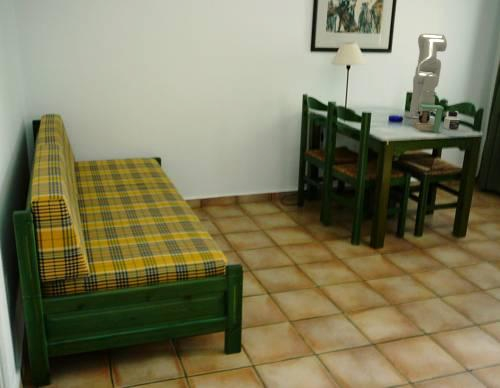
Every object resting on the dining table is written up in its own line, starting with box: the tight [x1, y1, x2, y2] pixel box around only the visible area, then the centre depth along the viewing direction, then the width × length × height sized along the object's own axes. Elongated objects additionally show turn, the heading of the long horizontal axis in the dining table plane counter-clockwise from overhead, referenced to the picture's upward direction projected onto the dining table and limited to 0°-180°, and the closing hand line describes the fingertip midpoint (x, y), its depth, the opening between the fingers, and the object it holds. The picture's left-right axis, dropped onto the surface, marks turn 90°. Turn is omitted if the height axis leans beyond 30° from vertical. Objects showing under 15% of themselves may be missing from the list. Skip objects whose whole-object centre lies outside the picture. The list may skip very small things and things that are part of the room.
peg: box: [420, 111, 428, 123], centre depth 347 cm, size 4×4×10 cm
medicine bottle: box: [442, 110, 461, 131], centre depth 349 cm, size 7×7×12 cm
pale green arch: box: [419, 104, 445, 134], centre depth 337 cm, size 10×13×16 cm
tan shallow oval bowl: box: [412, 120, 434, 132], centre depth 347 cm, size 14×10×4 cm
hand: (423, 121), depth 348 cm, fingers closed on peg, 3 cm apart
